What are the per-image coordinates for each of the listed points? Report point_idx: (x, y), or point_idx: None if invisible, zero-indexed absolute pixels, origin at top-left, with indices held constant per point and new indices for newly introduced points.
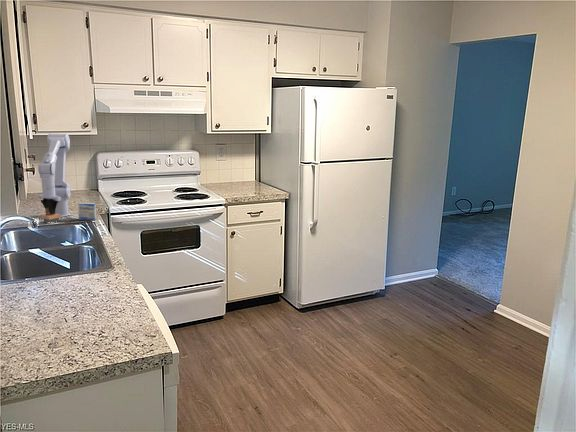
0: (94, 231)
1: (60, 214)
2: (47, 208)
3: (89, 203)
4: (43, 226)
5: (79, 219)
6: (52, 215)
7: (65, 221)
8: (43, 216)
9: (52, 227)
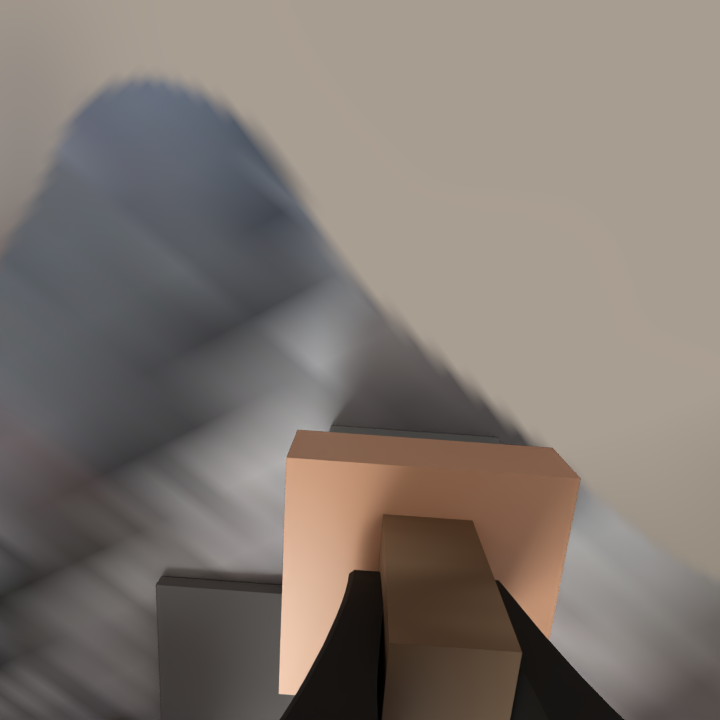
0: None
1: (279, 686)
2: (454, 671)
3: None
4: (256, 223)
5: None
6: (326, 557)
7: (201, 587)
8: (488, 461)
9: (63, 241)
